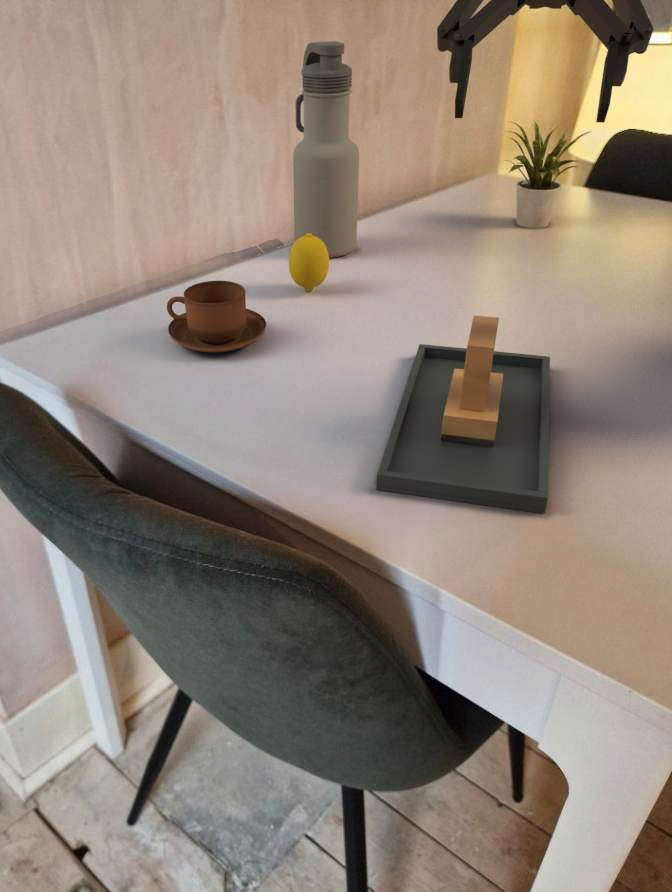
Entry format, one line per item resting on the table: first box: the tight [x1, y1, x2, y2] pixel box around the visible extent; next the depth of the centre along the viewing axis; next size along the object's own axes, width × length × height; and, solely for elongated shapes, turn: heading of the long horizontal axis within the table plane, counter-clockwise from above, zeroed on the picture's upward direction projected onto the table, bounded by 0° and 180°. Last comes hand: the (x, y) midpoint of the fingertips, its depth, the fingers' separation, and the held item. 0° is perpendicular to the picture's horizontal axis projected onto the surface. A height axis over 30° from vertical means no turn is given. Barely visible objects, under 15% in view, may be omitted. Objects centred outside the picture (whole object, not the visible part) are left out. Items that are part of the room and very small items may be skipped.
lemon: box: [288, 233, 330, 292], centre depth 104 cm, size 6×6×8 cm
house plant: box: [505, 118, 593, 229], centre depth 124 cm, size 14×14×16 cm
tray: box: [375, 343, 551, 514], centre depth 77 cm, size 28×15×2 cm, turn 164°
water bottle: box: [292, 40, 360, 259], centre depth 112 cm, size 10×10×28 cm
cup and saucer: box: [166, 280, 267, 353], centre depth 93 cm, size 12×12×6 cm
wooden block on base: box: [441, 315, 503, 447], centre depth 74 cm, size 10×5×10 cm, turn 164°
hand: (529, 111), depth 74 cm, fingers open, 13 cm apart
